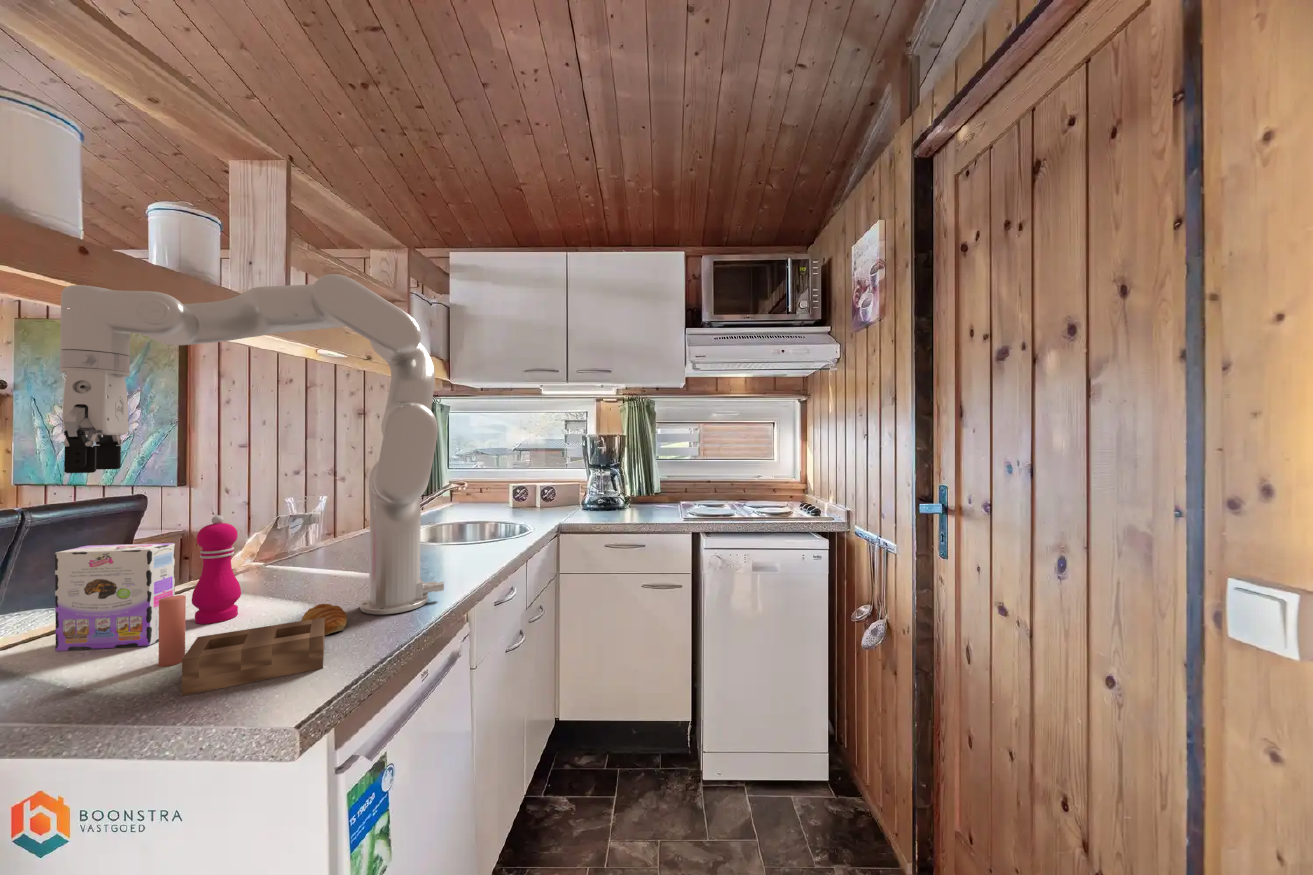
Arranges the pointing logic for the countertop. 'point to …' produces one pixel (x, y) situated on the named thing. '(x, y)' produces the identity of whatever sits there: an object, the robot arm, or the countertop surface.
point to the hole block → (253, 655)
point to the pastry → (328, 617)
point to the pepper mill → (216, 574)
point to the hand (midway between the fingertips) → (94, 470)
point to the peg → (171, 630)
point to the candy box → (111, 594)
